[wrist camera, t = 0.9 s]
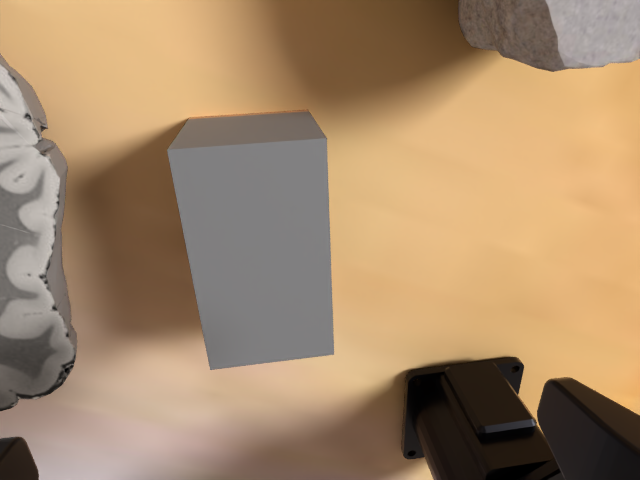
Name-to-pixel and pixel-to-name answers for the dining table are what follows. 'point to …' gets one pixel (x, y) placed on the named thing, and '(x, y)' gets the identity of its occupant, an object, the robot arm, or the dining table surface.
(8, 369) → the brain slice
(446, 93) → the dining table surface
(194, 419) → the dining table surface
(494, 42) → the decorative stone
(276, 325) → the block
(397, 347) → the dining table surface
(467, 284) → the dining table surface
